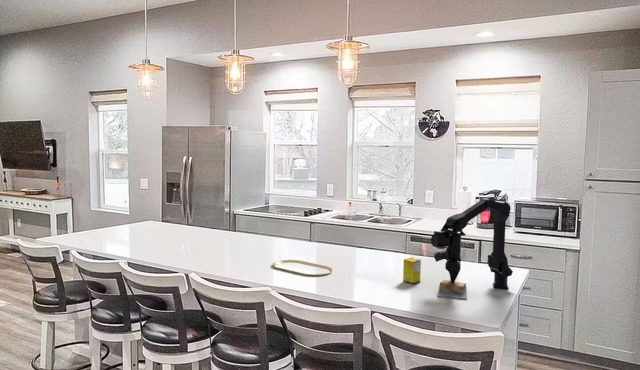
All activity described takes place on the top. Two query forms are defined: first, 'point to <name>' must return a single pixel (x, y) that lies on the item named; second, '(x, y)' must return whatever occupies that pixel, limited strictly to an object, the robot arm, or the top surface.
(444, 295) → the slate mat
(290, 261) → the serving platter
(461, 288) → the cardboard box
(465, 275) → the top surface
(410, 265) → the supplement box
